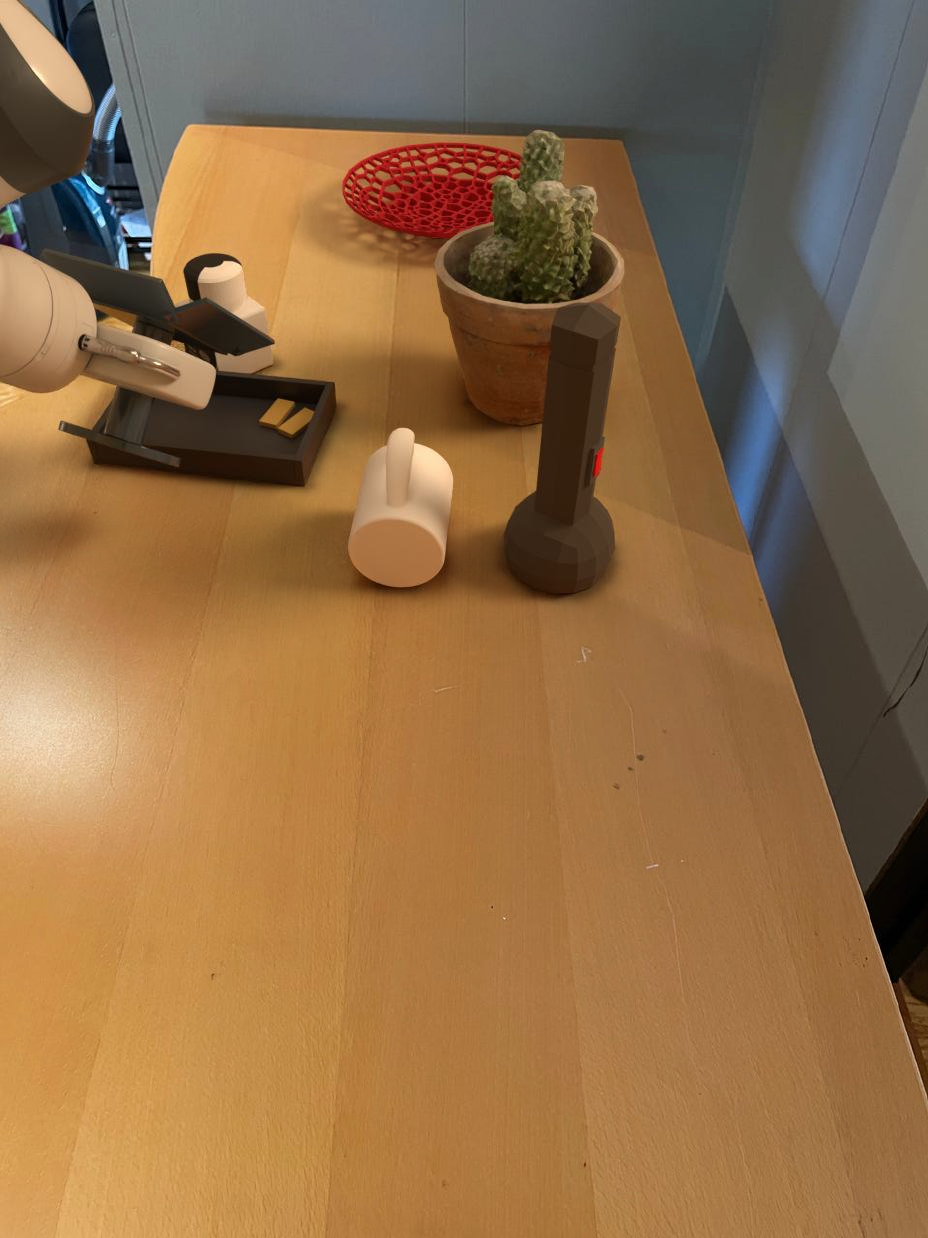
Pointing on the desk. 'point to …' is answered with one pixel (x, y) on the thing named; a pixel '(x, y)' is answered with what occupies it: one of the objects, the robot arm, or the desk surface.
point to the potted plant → (523, 281)
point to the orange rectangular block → (277, 413)
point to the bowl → (429, 189)
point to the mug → (402, 513)
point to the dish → (157, 319)
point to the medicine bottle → (227, 289)
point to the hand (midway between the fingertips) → (147, 375)
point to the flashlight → (569, 460)
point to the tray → (233, 431)
